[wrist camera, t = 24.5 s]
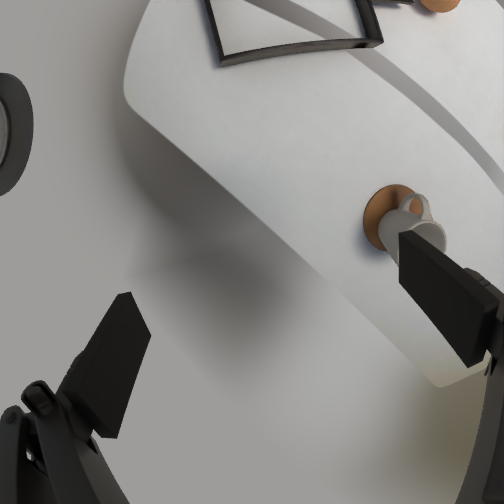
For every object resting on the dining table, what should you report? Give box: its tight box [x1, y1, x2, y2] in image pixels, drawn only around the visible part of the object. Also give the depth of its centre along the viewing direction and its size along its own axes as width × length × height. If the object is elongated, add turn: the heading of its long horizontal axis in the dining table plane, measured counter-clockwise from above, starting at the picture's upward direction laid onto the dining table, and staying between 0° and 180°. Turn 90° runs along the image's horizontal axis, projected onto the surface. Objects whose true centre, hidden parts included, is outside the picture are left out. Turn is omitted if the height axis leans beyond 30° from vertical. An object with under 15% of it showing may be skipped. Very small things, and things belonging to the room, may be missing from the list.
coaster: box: [363, 185, 422, 251], centre depth 40 cm, size 10×10×1 cm
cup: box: [378, 193, 447, 267], centre depth 36 cm, size 8×10×8 cm
